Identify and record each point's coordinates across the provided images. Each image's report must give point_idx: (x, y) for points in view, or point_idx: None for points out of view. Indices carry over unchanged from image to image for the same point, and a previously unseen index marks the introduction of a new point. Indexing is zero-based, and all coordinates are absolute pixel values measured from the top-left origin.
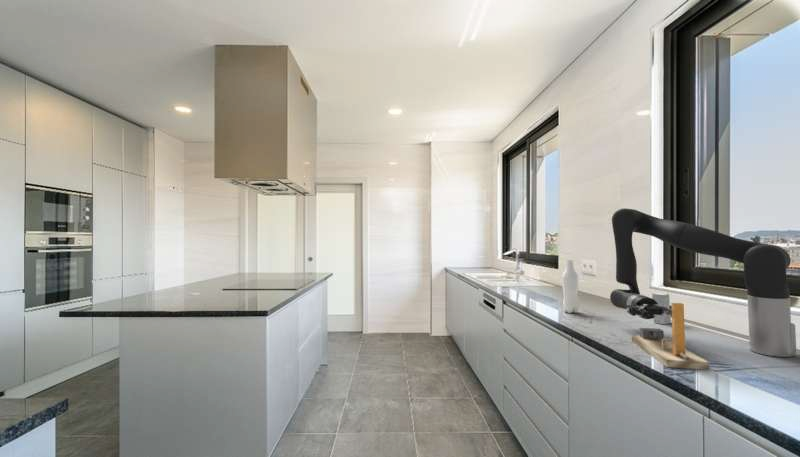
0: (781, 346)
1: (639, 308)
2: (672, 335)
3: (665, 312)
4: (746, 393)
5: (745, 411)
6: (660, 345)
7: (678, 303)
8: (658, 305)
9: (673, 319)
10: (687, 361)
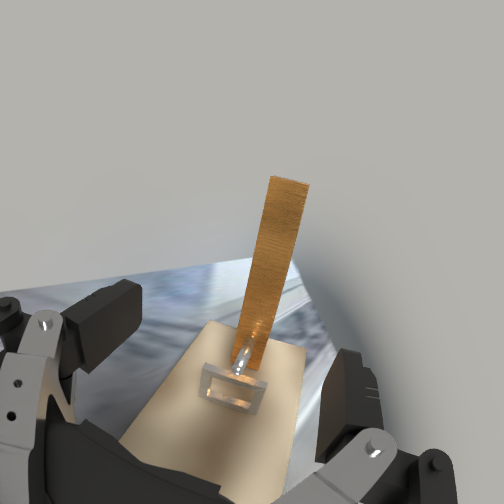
0: None
1: (384, 444)
2: (273, 319)
3: (64, 402)
4: (247, 281)
5: (291, 269)
6: (215, 462)
7: (288, 179)
8: (6, 442)
9: (292, 252)
10: None
